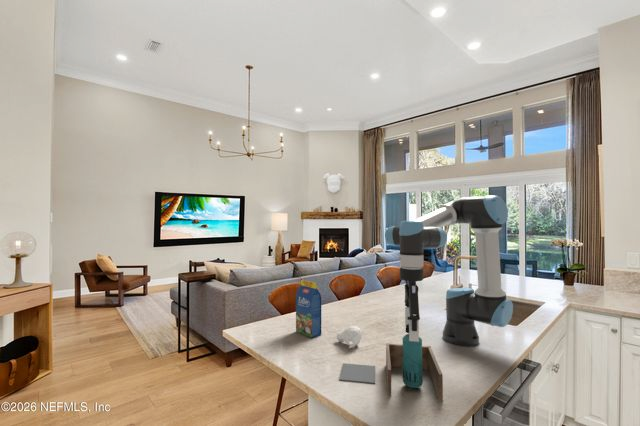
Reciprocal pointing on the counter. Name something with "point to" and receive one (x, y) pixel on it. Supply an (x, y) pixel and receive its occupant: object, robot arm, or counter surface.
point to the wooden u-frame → (428, 362)
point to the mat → (358, 373)
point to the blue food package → (308, 309)
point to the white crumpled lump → (350, 336)
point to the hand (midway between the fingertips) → (411, 333)
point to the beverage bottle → (412, 361)
